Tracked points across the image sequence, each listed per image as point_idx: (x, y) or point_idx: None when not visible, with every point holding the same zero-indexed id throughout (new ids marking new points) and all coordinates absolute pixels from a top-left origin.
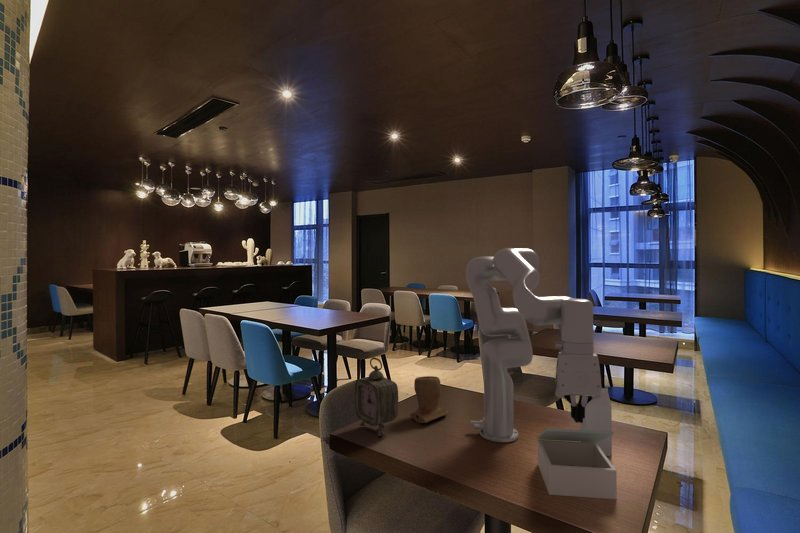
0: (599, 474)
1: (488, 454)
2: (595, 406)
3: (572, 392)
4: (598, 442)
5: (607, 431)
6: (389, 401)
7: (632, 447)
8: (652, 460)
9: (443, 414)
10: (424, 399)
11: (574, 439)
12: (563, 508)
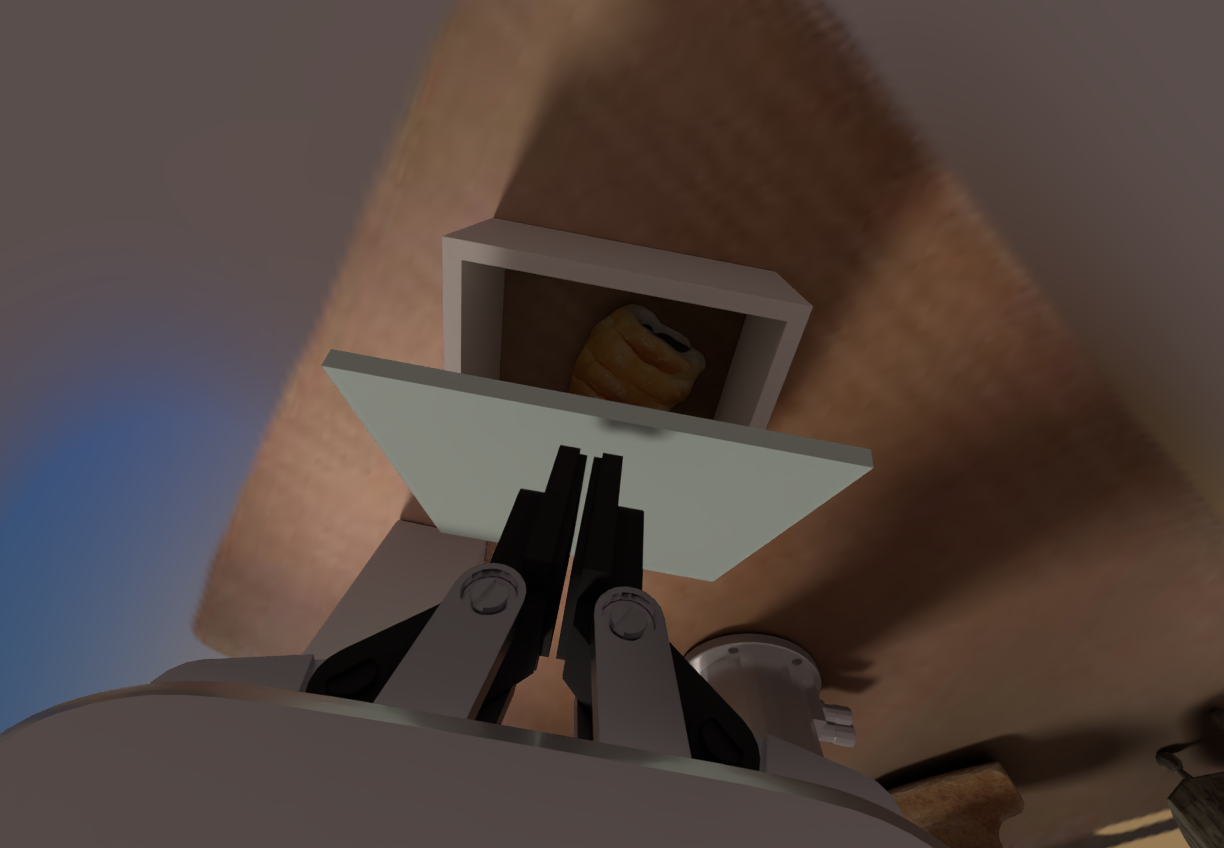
0: (541, 247)
1: (858, 571)
2: None
3: (721, 837)
4: (422, 566)
5: (370, 371)
6: None
7: (306, 567)
8: (260, 486)
9: (896, 793)
10: None
11: None
12: (770, 148)
